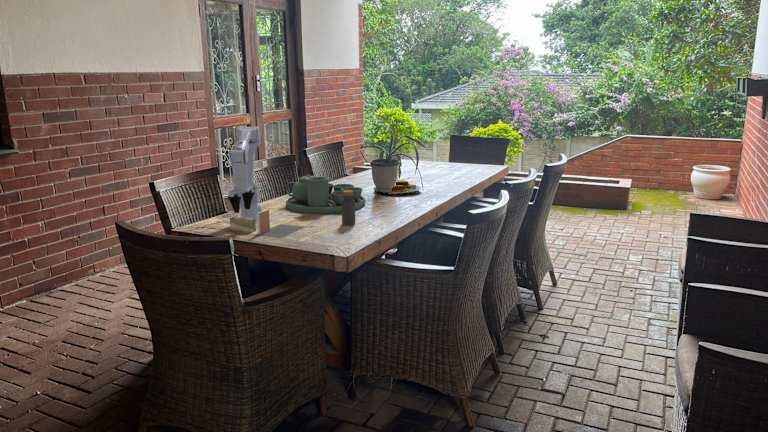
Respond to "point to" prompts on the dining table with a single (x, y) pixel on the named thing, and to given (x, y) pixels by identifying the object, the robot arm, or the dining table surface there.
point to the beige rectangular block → (243, 224)
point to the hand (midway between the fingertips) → (242, 210)
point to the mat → (281, 231)
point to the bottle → (348, 208)
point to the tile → (263, 221)
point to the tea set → (320, 195)
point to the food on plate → (403, 187)
